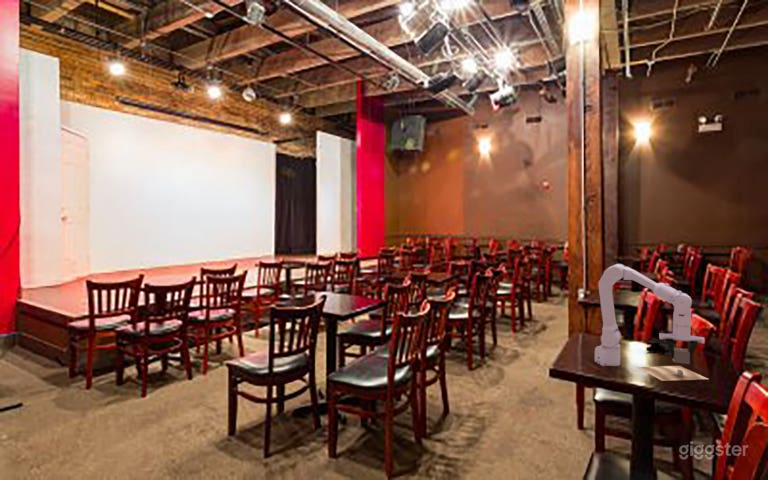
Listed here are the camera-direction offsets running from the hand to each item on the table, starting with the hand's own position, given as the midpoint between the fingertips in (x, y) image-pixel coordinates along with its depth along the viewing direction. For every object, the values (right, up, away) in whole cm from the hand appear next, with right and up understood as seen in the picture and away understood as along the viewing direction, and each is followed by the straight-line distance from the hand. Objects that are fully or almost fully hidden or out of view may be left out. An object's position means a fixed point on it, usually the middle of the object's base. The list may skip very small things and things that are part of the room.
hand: (680, 358), depth 169 cm
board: (-1, -8, +4) cm, 9 cm away
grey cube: (0, -1, 0) cm, 1 cm away
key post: (0, -7, 0) cm, 7 cm away
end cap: (+12, -7, +30) cm, 33 cm away
